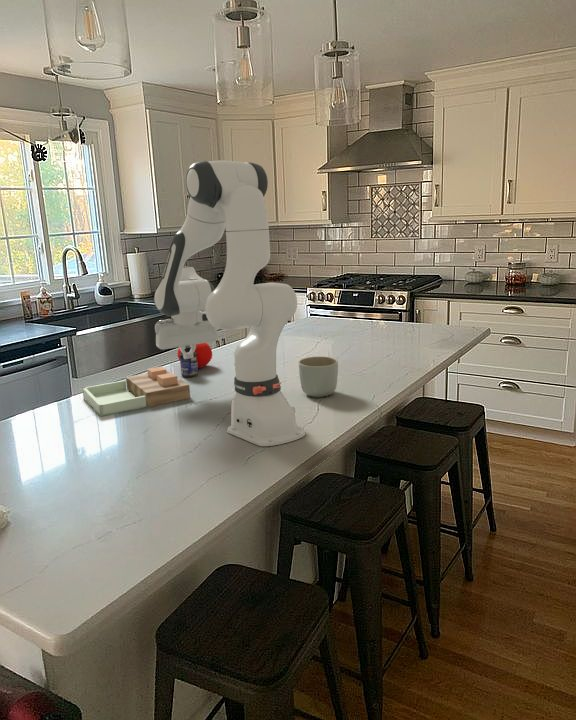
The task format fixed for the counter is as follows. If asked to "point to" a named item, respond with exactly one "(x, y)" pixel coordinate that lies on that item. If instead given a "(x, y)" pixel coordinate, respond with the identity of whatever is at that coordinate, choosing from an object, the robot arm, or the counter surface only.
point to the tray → (112, 398)
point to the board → (157, 390)
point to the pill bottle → (189, 364)
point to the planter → (318, 375)
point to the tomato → (201, 354)
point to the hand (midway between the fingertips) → (188, 358)
